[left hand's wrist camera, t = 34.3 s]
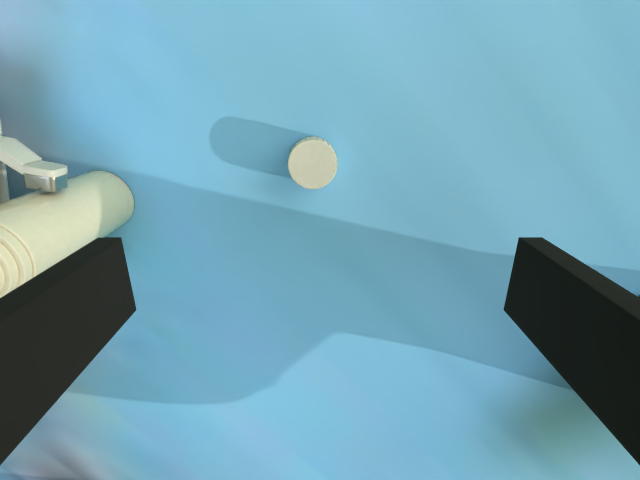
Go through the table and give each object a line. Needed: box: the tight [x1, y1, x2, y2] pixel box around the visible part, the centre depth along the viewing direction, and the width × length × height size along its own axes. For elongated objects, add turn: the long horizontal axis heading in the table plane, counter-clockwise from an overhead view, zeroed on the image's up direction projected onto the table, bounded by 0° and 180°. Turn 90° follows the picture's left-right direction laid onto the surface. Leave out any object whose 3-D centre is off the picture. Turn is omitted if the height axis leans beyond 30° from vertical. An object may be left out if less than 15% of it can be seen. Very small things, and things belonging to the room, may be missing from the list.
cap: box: [288, 136, 337, 189], centre depth 29 cm, size 4×4×2 cm
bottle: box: [0, 171, 134, 298], centre depth 23 cm, size 5×5×18 cm
